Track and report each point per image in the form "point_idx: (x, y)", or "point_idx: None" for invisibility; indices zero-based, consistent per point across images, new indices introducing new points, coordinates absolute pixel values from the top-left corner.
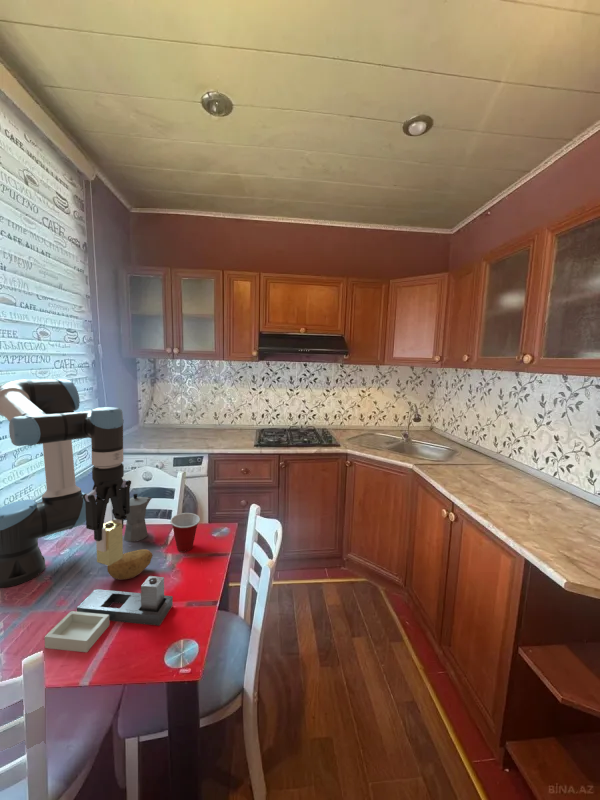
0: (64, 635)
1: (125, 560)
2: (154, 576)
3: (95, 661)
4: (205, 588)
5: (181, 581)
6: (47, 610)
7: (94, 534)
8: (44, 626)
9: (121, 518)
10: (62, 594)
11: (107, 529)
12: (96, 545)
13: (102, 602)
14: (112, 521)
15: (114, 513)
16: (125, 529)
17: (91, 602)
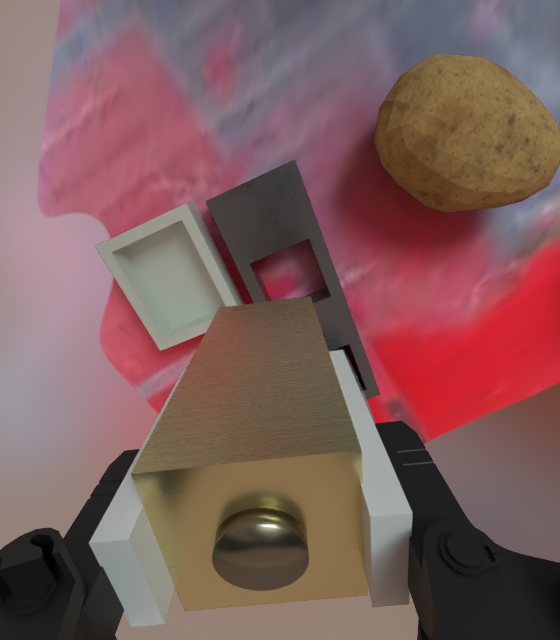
0: (132, 288)
1: (440, 160)
2: (368, 407)
3: (170, 372)
4: (461, 400)
5: (467, 327)
6: (172, 70)
7: (86, 509)
8: (138, 150)
9: (419, 620)
10: (243, 15)
11: (195, 585)
12: (174, 387)
13: (264, 250)
14: (361, 485)
15: (436, 636)
16: None
17: (245, 219)
